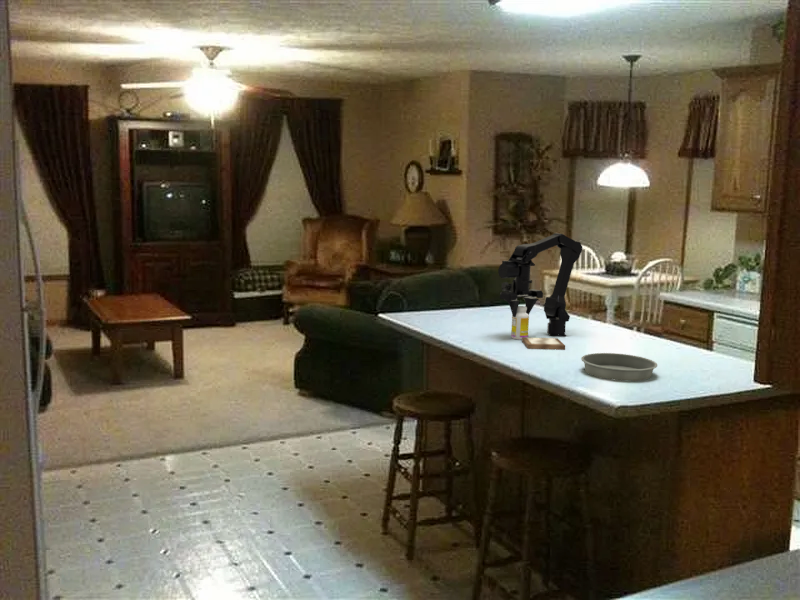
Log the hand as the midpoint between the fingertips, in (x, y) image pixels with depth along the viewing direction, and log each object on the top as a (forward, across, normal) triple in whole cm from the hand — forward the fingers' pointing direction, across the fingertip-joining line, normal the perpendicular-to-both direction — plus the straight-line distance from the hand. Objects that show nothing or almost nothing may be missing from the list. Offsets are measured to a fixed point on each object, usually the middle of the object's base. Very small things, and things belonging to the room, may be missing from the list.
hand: (520, 316), depth 329 cm
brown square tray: (+9, +2, +15) cm, 17 cm away
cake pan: (+10, +12, +60) cm, 62 cm away
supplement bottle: (+9, 0, 0) cm, 9 cm away
